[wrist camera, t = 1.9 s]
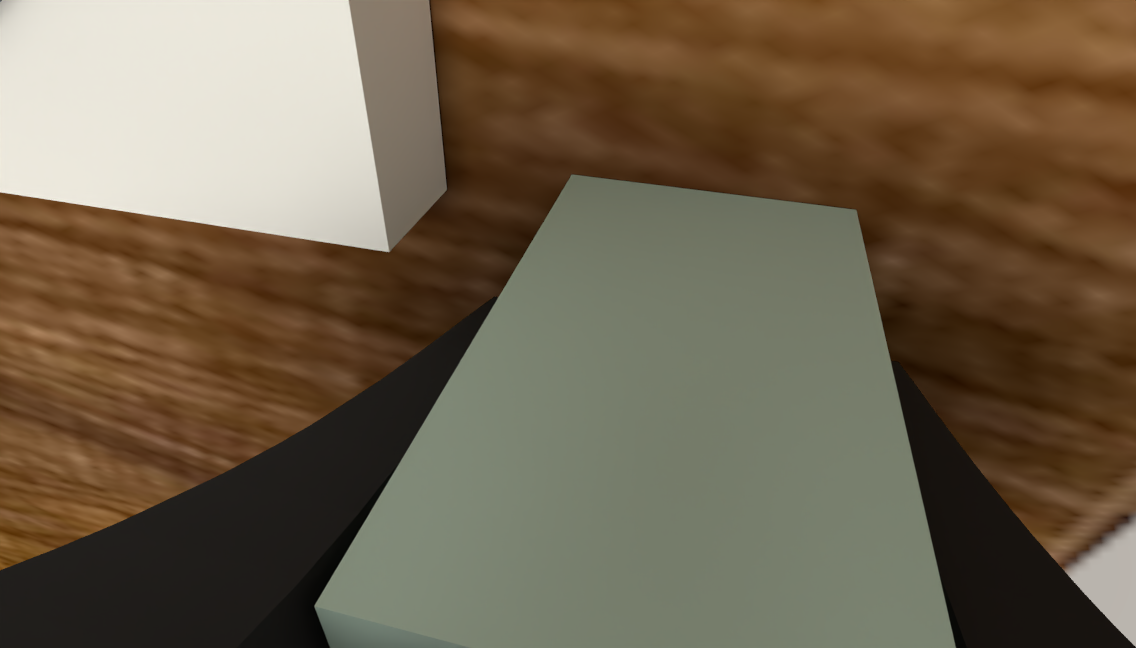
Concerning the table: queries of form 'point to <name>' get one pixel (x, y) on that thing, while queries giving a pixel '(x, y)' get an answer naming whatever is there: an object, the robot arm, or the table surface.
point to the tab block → (659, 448)
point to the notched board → (227, 112)
